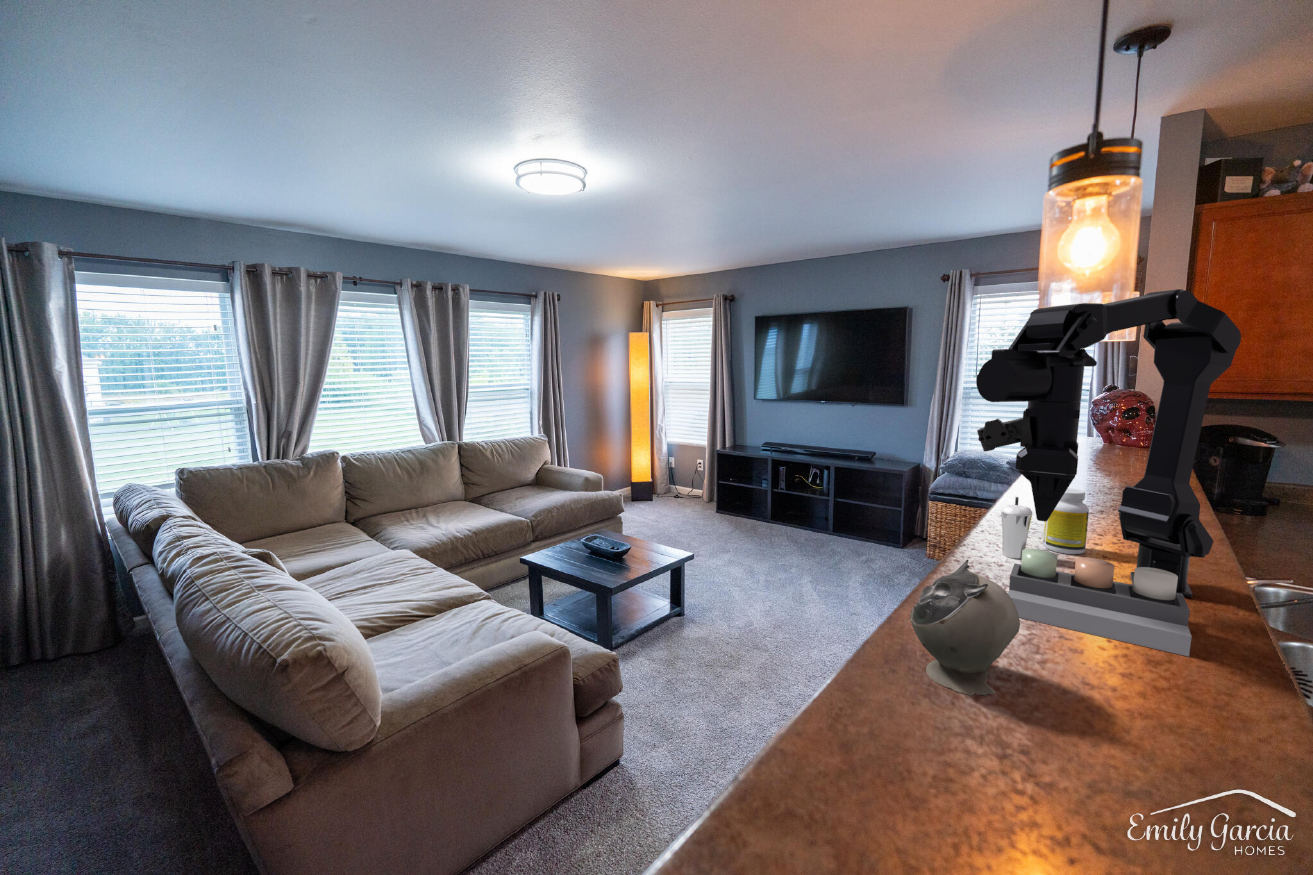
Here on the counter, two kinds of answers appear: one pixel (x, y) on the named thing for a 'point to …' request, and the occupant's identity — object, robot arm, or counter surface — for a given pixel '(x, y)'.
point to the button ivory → (1155, 583)
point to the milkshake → (1015, 529)
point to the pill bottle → (1068, 524)
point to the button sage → (1039, 563)
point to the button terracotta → (1094, 572)
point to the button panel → (1102, 610)
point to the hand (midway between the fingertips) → (1043, 514)
